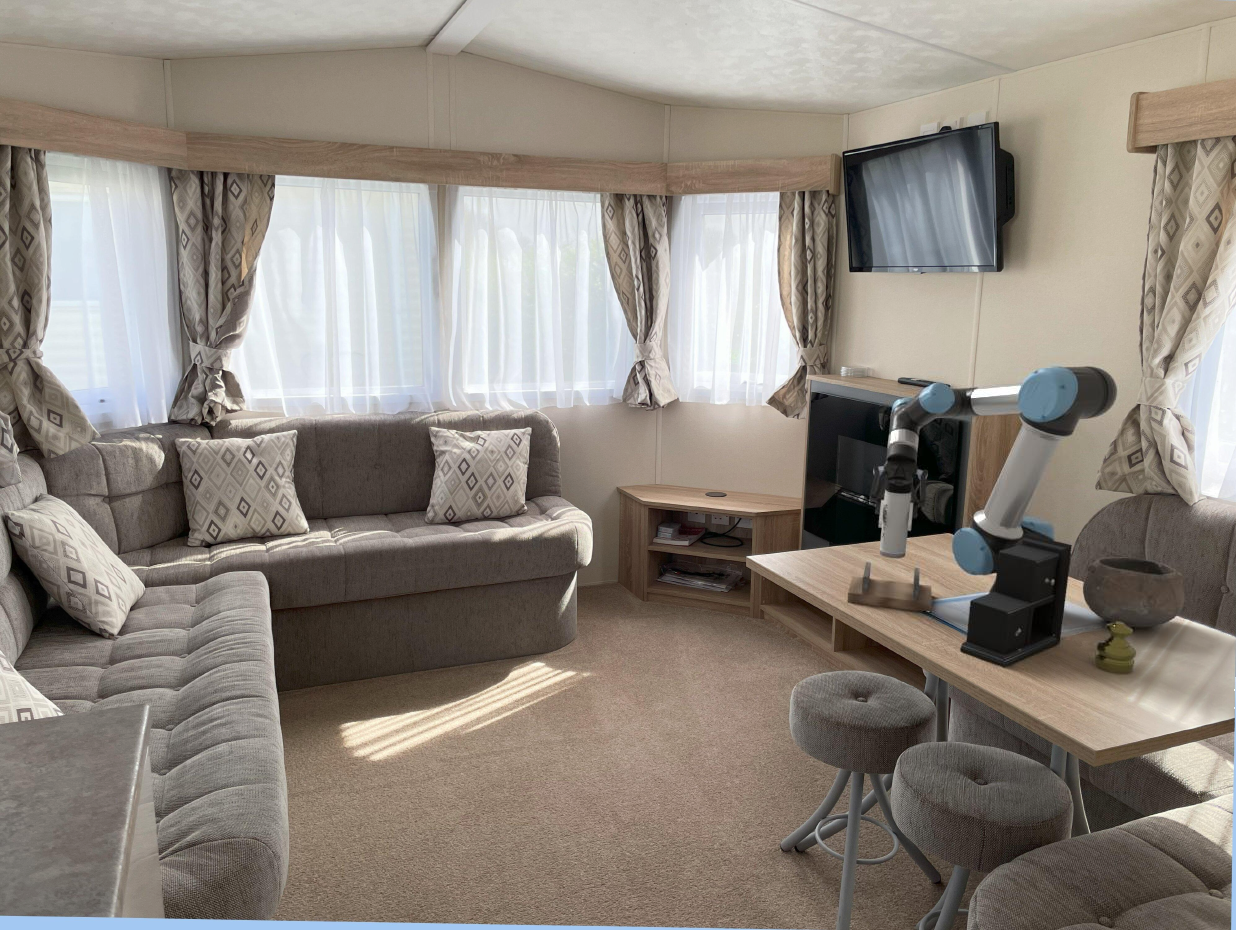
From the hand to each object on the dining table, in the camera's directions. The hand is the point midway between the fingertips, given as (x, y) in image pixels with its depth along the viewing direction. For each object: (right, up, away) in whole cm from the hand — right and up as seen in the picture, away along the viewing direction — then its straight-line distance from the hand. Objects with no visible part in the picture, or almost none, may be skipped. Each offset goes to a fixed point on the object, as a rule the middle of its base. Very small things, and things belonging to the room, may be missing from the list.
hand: (894, 526), depth 225 cm
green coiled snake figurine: (+37, -28, -32) cm, 56 cm away
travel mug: (+1, -8, +5) cm, 9 cm away
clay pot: (+54, -23, -6) cm, 60 cm away
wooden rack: (+1, -19, +7) cm, 20 cm away
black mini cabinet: (+19, -26, -23) cm, 39 cm away
